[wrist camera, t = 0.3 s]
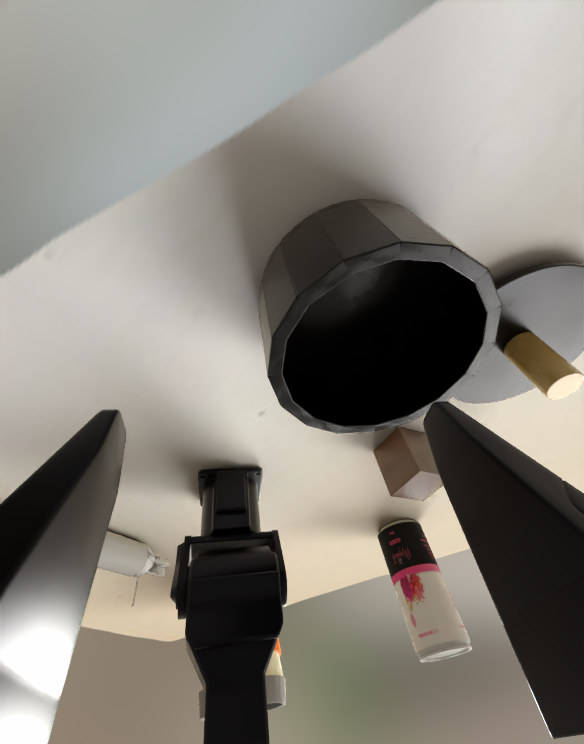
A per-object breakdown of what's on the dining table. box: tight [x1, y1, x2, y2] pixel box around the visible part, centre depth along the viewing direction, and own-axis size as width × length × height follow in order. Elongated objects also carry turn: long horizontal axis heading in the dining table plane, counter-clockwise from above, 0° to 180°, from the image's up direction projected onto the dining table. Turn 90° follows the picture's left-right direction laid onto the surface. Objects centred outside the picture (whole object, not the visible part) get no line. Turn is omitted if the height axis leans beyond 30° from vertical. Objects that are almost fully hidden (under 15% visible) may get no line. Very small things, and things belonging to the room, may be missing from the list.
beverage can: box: [378, 520, 472, 662], centre depth 46 cm, size 6×7×15 cm
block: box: [374, 427, 443, 501], centre depth 35 cm, size 4×4×5 cm
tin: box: [259, 199, 502, 434], centre depth 21 cm, size 13×13×7 cm
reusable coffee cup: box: [199, 639, 286, 721], centre depth 53 cm, size 13×13×15 cm
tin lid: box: [452, 262, 584, 403], centre depth 26 cm, size 14×14×6 cm
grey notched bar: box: [97, 531, 169, 606], centre depth 37 cm, size 18×5×6 cm, turn 33°
